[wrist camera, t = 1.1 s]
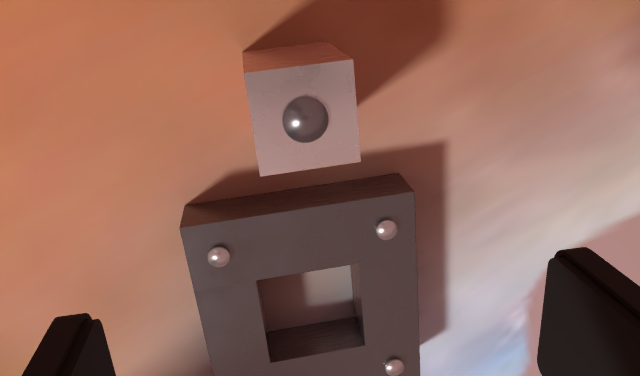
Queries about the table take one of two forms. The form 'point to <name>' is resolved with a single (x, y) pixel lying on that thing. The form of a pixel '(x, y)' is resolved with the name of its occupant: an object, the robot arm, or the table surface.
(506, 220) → the table surface
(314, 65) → the cube with chrome dome
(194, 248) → the gray square socket plate
